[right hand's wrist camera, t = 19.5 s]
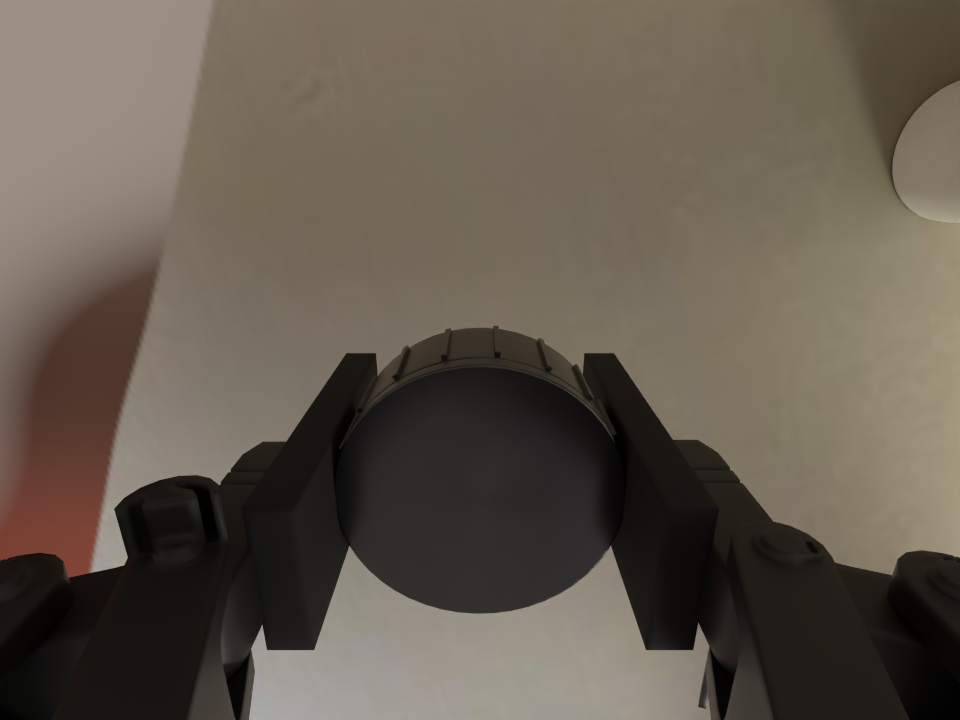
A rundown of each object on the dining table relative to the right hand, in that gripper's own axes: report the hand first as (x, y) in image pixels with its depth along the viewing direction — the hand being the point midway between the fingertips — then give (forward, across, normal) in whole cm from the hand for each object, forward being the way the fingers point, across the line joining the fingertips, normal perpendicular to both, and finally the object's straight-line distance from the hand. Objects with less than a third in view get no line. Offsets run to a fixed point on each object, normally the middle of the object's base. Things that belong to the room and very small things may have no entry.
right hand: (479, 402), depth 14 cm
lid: (-4, 0, 0) cm, 4 cm away
